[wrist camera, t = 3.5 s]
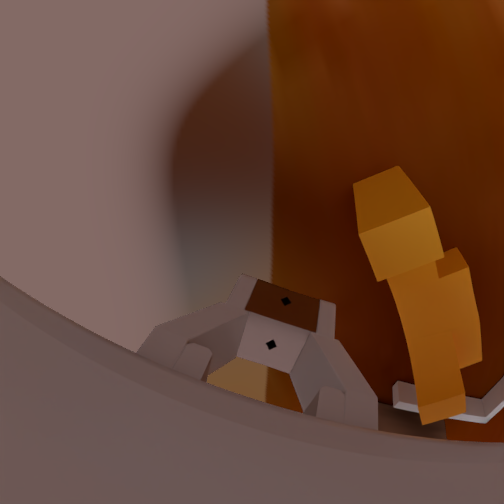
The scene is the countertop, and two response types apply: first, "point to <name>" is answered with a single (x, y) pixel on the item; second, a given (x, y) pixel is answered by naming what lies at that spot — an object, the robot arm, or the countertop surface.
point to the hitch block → (408, 423)
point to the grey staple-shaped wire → (475, 408)
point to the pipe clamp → (421, 288)
